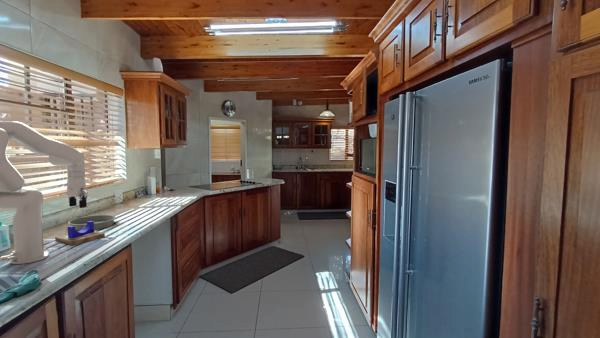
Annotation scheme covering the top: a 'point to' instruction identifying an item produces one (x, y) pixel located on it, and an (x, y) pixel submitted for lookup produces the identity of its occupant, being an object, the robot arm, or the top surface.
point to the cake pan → (99, 220)
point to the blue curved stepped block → (85, 230)
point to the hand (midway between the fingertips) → (78, 206)
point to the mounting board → (79, 238)
